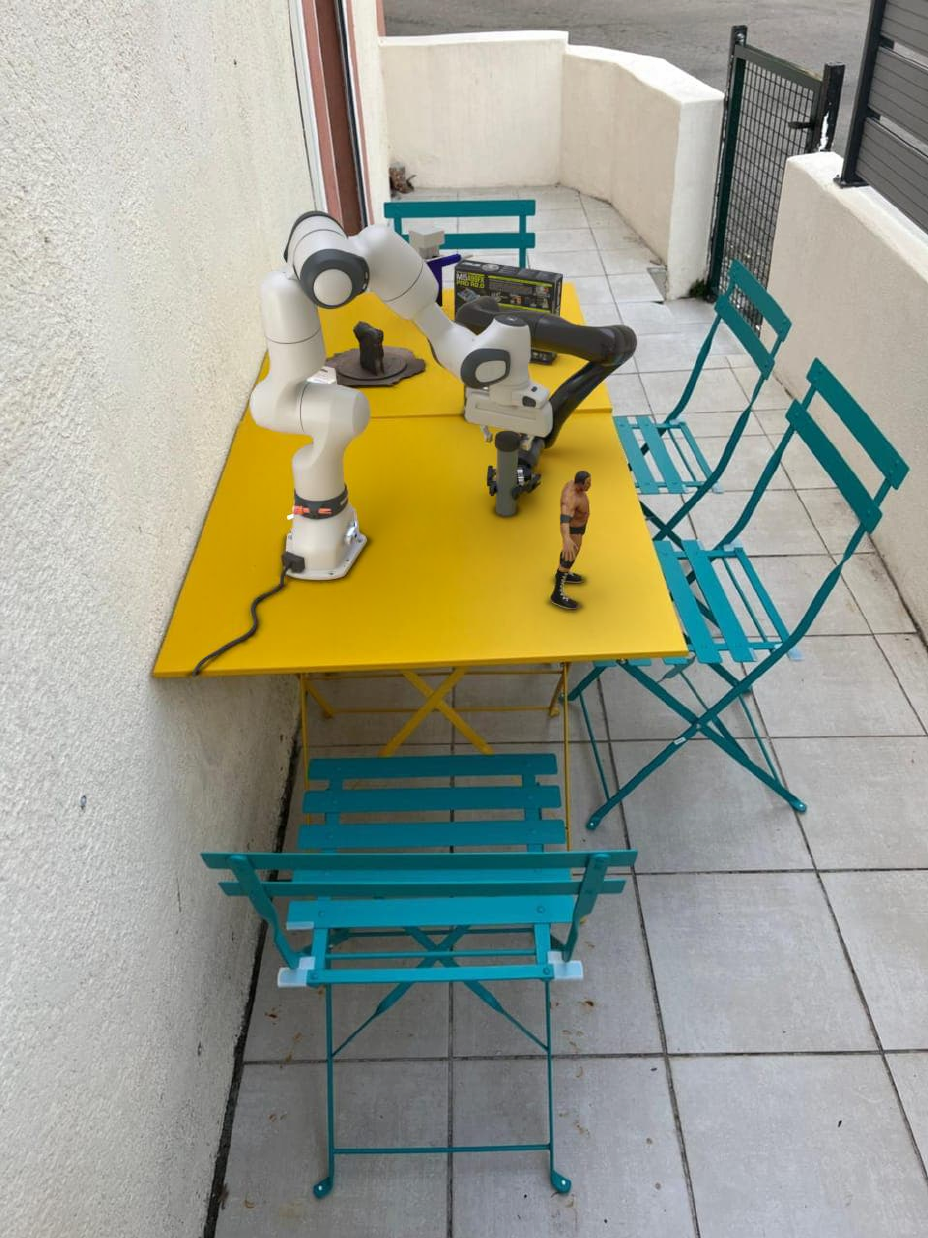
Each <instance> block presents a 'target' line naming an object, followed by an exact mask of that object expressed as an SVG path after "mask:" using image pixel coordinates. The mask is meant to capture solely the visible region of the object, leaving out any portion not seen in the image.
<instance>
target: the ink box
mask: <svg viewBox="0 0 928 1238" xmlns="http://www.w3.org/2000/svg"><path fill="white" fill-rule="evenodd" d="M321 369H324V370H327V371H328V373H327V372H323V371H319V372H318V373H316V374H315V375H314V376H312V377H310V378H308V379H306V380H307V381H309V382H313V383H324V384H335V385H337V379H336V372H335V369H334V368H330V367H326V366H323V367H322V368H321Z"/></svg>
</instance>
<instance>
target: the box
mask: <svg viewBox="0 0 928 1238" xmlns="http://www.w3.org/2000/svg"><path fill="white" fill-rule="evenodd" d="M453 270H454V272H453V298H454V299H453V302H454V303H453V304H454V311H453V312H454V314H453V315H454V317H453V318H454V320H453V321H456V320H455V317H456V313H457V311H458V309H459V308H460V307H461V306H462V305H464V304H465V303H467V302H470V301H472V300H474V299H476V298H479V297H481V296H490V297H492V298H494V299H495V300H496V302H497V303H498V305H499V307H500V311H501V312H512V311H523V310H534V311H541V312H546V313H551V314H555V315H558V316H560V317H561V305H562V304H561V303H562V293H563V292H562V291H563V281H564V280H563V279H564V274H563V273H560V272H555V271H547V270H542V269H533V268H527V267H520V266H513V265H506V264H499V263H491V262H484V261H479V260H471V259H464V260H461V261H460V262H459V263H456V264H454V266H453ZM557 356H558V353H552V352H546V351H541V350H536V349H531V357H530V363H537V364H544V365H551V364H552V363H553V361H554V360H555V359H556V358H557Z"/></svg>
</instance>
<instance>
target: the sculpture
mask: <svg viewBox="0 0 928 1238" xmlns="http://www.w3.org/2000/svg"><path fill="white" fill-rule="evenodd" d="M352 332H353V335H354V337H355V338H356V340H357V342H358V347H357V348H350V349H349V350H345V351H343V352H335V353H333V356H332V357H329V358H326V360H325V363H324V365H323V366H326V367H330V368H334V369H335V372H336V379H337V385H343V386H346V387H347V386H355V385H358V386H359V385H360V386H362V385H363V386H371V385H372V386H376V385H378V386H379V385H388V386H391V385H392V386H394V387H396V386H395V385H394V384H395V383H399V382H400V380H401V379H403V378H407V377H411V376H412V375H414V374H416V373H417V374H418V373H420V372H422V371H424V370H426V362H425V360H424V359H423V358H417V357H416V356H415V355H414V352H413V351H412V350H409V349H408V348H404V347H396V346H389V345H387V346H386V345H383V342H384V337H385V336H384V335H385V333H384V331H383V330H382V329H381V328H376V327H374V326H373V325H371V324H369V323H368V322H366V321H363V320H358V322H357V324H355V326H353V329H352ZM320 371H323V372H327V373H328V371H327V370H324V369H321V370H320ZM393 383H394V384H393Z"/></svg>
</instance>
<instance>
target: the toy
mask: <svg viewBox="0 0 928 1238" xmlns="http://www.w3.org/2000/svg"><path fill="white" fill-rule="evenodd" d="M445 240H446V239H445V230H444V229H442V228H439V227H437V226H434V225H431V224H430V223H429V224H425V225H421V226H417V227H413V228H410V229H408V244H409V245H410V246H411V247H412V248H413V249H414V250H415V251H416V252H417V253H418V254H419V255H420V257H421V258H422V259H423V260H424V261H425V263H426V264H427V265H428V267H429V268H430V270H431V271H432V273H433V275H434V277H435V278H436V280H437V282H438V285H439V291H438V296H437V299H436V301H435V302H436V303H437V304H438V305H439V307H440V308H441V307H443V306H444V305H443V304H444V303H443V268H444V267H448V266H451V265H456V264H458V263H459V262H460V261H461V260H464V259H465V260H469V259H471V258H474V255H473V253H471V252H468V251H466V252H462V253H460V254H459V253H454V254H451V255H447V256H445V254H440V246H441V245H444V244H445Z"/></svg>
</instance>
